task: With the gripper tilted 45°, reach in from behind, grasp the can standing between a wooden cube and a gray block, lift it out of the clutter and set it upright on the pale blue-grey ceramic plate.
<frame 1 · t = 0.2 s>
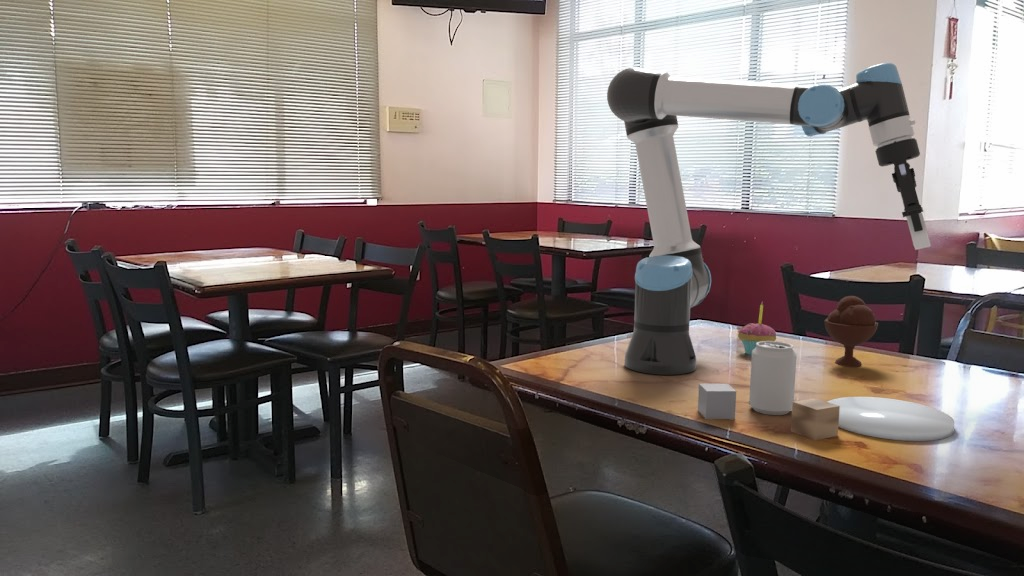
hand: (922, 246, 158), 27 cm above the table, tool tilted 15°, fingers open, 13 cm apart
plate: (886, 421, 136), on the table
cupcake: (756, 354, 186), on the table
ice cream bowl: (848, 364, 177), on the table
can: (770, 411, 142), on the table
gray block: (715, 415, 138), on the table
wooden cube: (814, 433, 129), on the table
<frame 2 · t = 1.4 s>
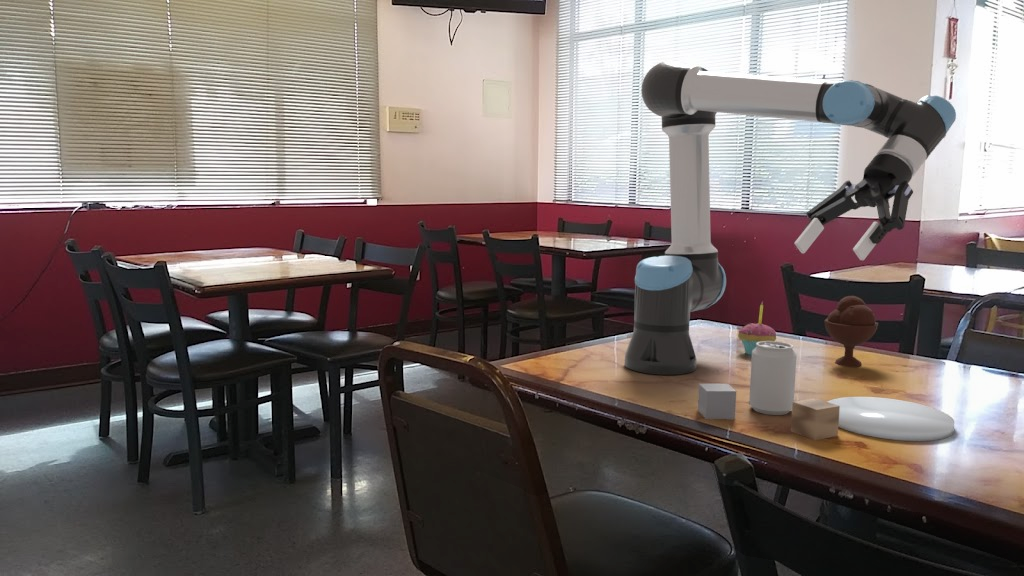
hand: (827, 251, 142), 28 cm above the table, tool tilted 45°, fingers open, 13 cm apart
nothing on the table moved.
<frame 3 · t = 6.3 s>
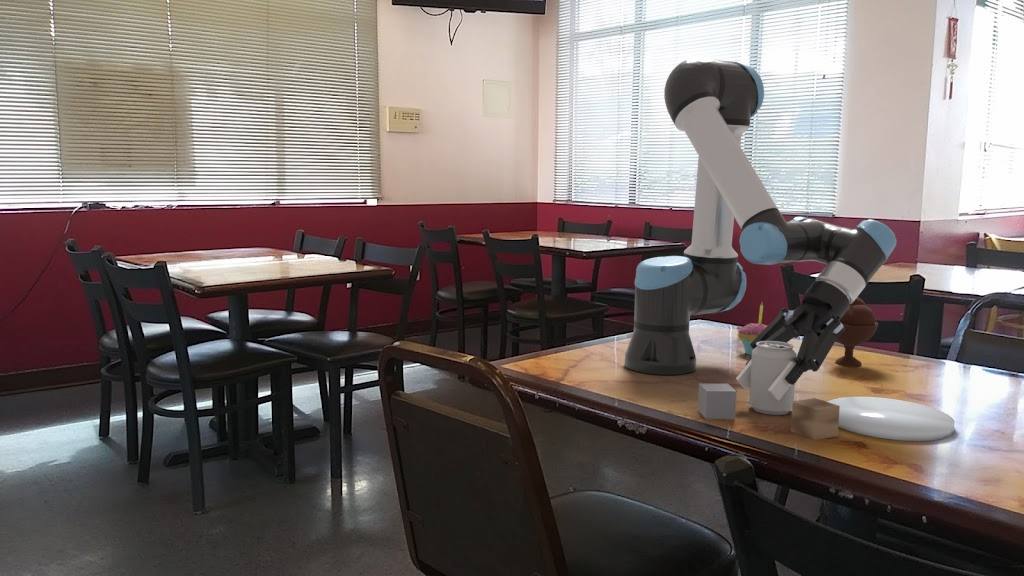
hand: (756, 389, 140), 4 cm above the table, tool tilted 45°, fingers closed on can, 7 cm apart
can: (770, 411, 142), on the table, touching gripper
everything else where it was.
when the fingers open (7 cm above the table, at t = 11.8 s): can drops 1 cm, resting on plate.
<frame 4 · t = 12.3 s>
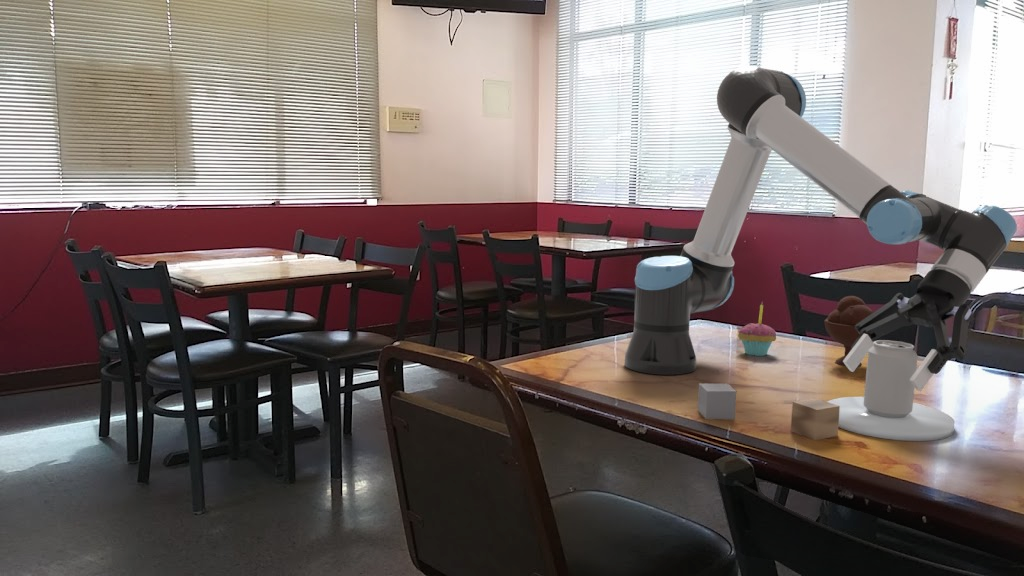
hand: (879, 375, 133), 8 cm above the table, tool tilted 45°, fingers open, 13 cm apart
can: (886, 413, 135), point 1 cm above the table, touching plate
everything else where it was.
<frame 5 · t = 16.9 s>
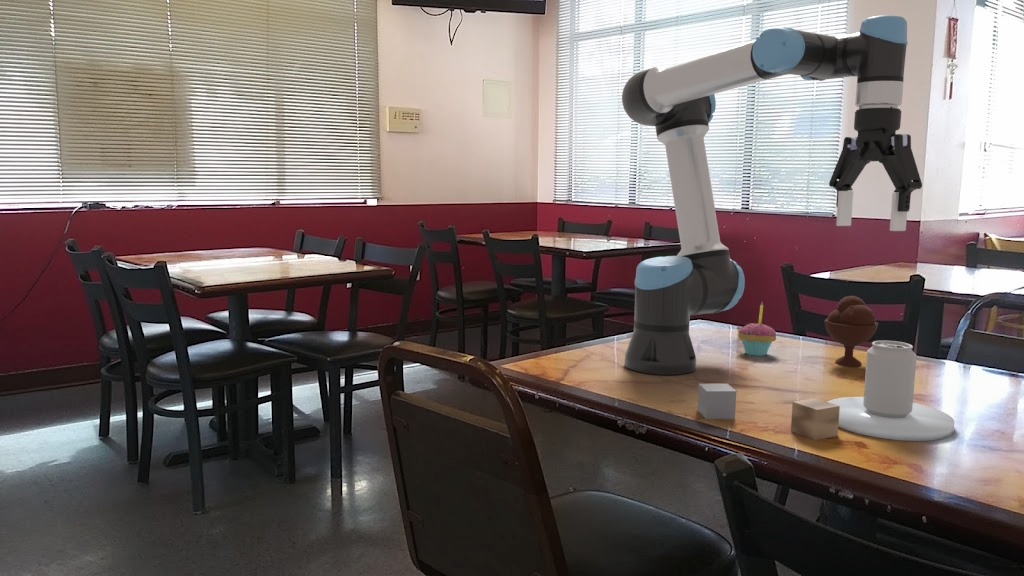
hand: (869, 228, 145), 32 cm above the table, tool pointing down, fingers open, 13 cm apart
nothing on the table moved.
at the end: can inside the target area on the plate (0.0 cm from its centre), point 1.3 cm above the plate's base; can tilted 0°; the gripper is holding nothing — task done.
